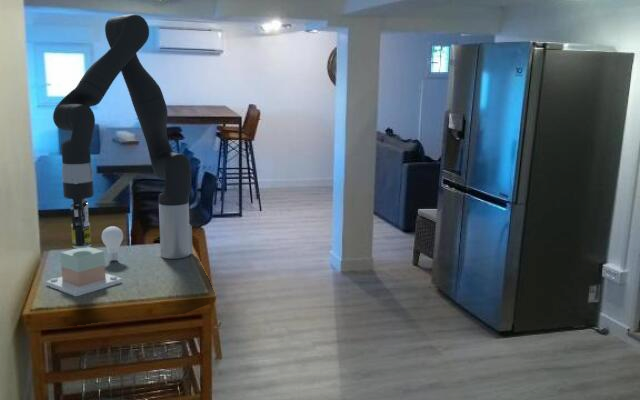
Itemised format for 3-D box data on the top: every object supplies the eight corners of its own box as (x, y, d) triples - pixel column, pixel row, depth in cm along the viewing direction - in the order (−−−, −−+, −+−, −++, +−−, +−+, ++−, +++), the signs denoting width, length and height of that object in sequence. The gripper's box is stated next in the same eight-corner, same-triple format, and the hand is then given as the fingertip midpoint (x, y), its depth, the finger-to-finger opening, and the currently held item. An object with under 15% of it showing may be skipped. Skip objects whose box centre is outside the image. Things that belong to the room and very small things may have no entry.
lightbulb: (121, 257, 191) (120, 223, 189) (126, 262, 186) (125, 227, 184) (100, 259, 188) (99, 225, 186) (105, 265, 182) (103, 229, 180)
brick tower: (91, 272, 175) (90, 242, 173) (121, 282, 167) (120, 250, 165) (46, 285, 164) (43, 252, 162) (76, 296, 156) (73, 262, 154)
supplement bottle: (84, 249, 161) (82, 218, 159) (68, 247, 162) (66, 217, 160) (94, 244, 165) (93, 214, 164) (79, 243, 166) (77, 213, 165)
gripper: (67, 175, 166) (71, 235, 169) (58, 184, 152) (62, 249, 156) (95, 175, 168) (99, 234, 171) (89, 183, 154) (93, 247, 157)
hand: (81, 241), depth 163 cm, fingers closed on supplement bottle, 4 cm apart
